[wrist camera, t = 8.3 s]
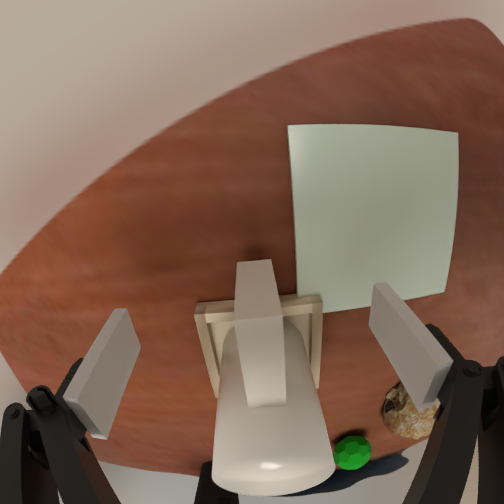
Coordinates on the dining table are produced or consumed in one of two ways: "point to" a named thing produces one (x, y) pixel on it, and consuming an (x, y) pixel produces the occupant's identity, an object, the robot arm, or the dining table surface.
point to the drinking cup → (212, 489)
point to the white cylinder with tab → (267, 398)
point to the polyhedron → (352, 452)
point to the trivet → (372, 210)
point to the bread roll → (407, 414)
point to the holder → (222, 320)
